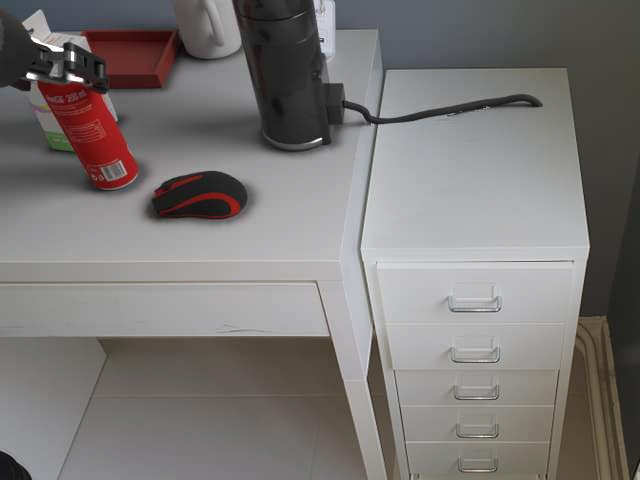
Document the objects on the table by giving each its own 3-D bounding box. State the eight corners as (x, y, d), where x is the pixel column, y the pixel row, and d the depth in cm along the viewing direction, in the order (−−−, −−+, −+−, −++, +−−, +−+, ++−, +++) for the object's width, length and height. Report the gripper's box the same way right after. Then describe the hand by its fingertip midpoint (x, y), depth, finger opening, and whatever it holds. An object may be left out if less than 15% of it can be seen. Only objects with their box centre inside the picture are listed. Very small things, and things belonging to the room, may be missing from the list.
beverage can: (150, 173, 92) (105, 61, 81) (108, 200, 89) (55, 87, 77) (118, 158, 94) (70, 46, 83) (76, 184, 91) (19, 70, 79)
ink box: (87, 155, 95) (35, 44, 83) (52, 150, 95) (-4, 39, 84) (120, 118, 100) (77, 10, 89) (87, 114, 101) (39, 6, 89)
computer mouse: (161, 188, 91) (151, 161, 88) (251, 185, 91) (243, 158, 88) (151, 221, 87) (139, 193, 84) (244, 218, 87) (236, 190, 84)
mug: (179, 39, 114) (156, -35, 106) (232, 28, 117) (214, -45, 109) (200, 75, 108) (177, -1, 99) (256, 62, 110) (239, -13, 102)
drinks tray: (181, 42, 114) (177, 29, 112) (162, 87, 105) (157, 74, 104) (88, 43, 113) (83, 29, 112) (61, 88, 105) (55, 74, 103)
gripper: (38, -10, 64) (129, 50, 80) (-123, -16, 64) (1, 45, 80) (39, 78, 65) (129, 121, 81) (-120, 72, 65) (2, 115, 81)
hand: (65, 83), depth 81 cm, fingers open, 8 cm apart
